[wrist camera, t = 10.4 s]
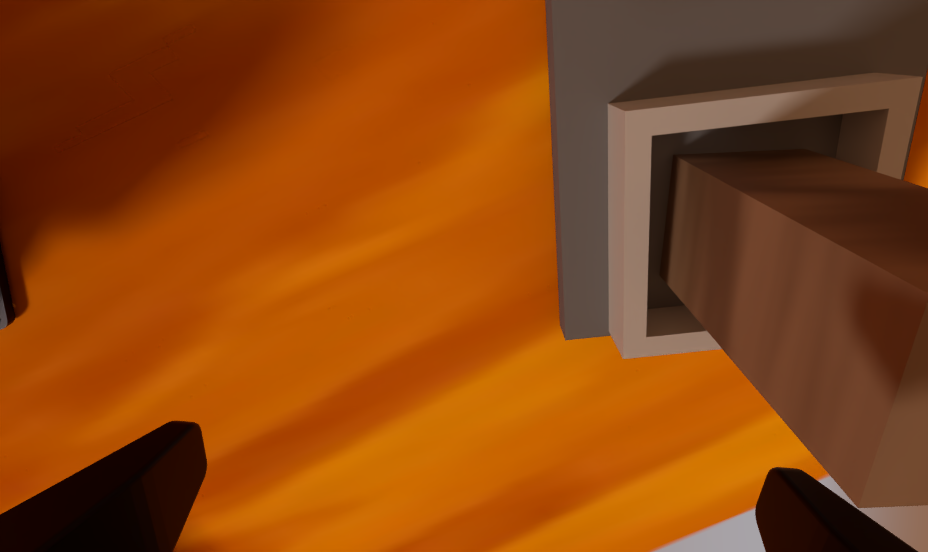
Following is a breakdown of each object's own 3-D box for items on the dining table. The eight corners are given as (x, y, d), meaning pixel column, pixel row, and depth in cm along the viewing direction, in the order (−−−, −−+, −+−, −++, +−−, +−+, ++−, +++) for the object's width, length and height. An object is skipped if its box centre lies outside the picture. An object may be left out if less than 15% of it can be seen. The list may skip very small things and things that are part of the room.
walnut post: (659, 275, 20) (857, 508, 10) (672, 154, 19) (929, 295, 9) (779, 270, 20) (1095, 497, 10) (805, 148, 19) (1217, 282, 9)
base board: (525, -437, 14) (553, -620, 10) (1013, -510, 13) (1238, -728, 10) (560, 325, 23) (581, 384, 19) (854, 294, 22) (938, 348, 18)
